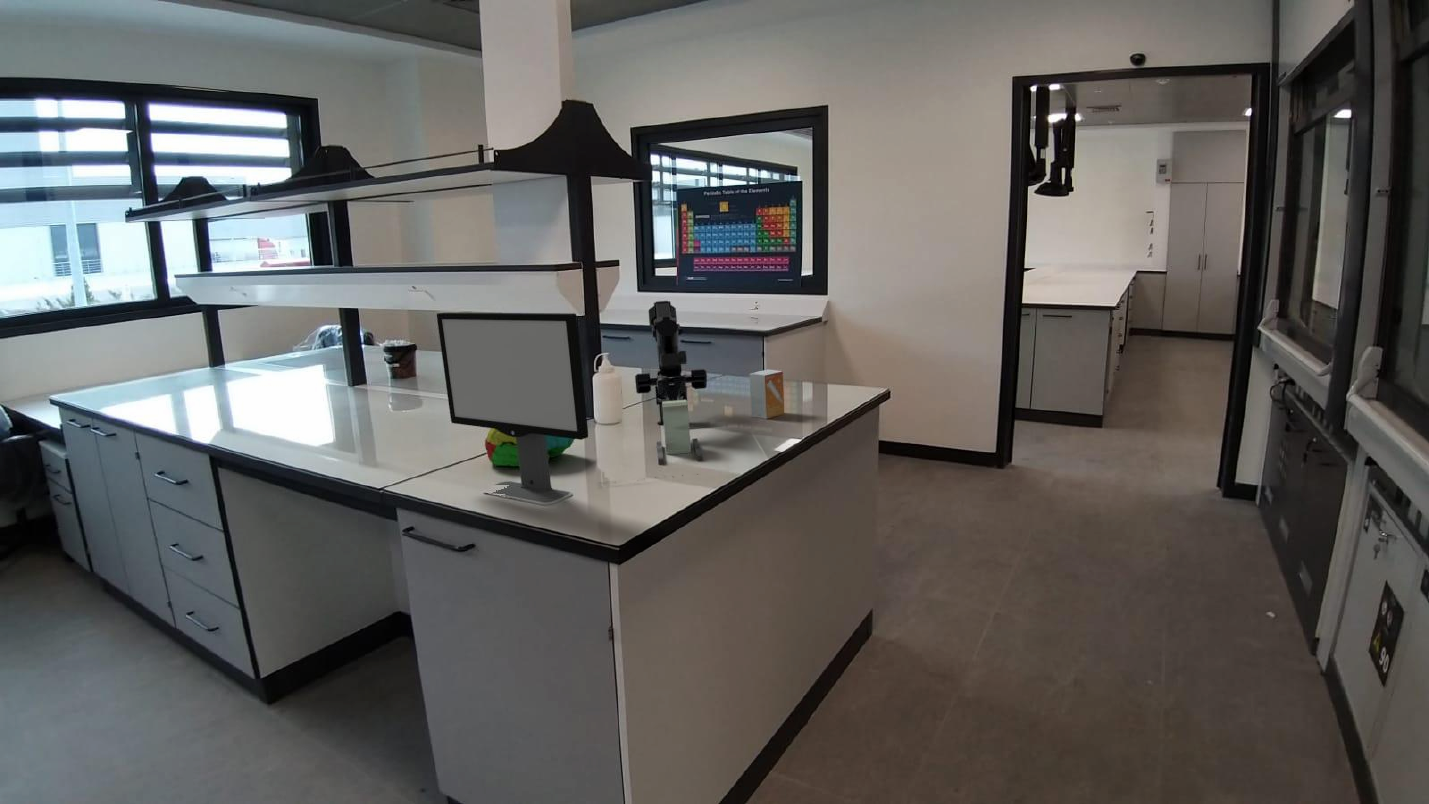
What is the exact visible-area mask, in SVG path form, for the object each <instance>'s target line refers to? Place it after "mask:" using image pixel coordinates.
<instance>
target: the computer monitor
mask: <svg viewBox="0 0 1429 804" xmlns="http://www.w3.org/2000/svg"><path fill="white" fill-rule="evenodd" d="M436 321H437V327H438V328H437V329H438V335H439V341H440V342H439V343H440V349H441V356H442V357H441V359H442V364H443V371H444V380H445V387H446V394H447V401H448V409H449V415H450V421H451V424H454V425H463V426H471V427H479V428H487V429H491V428H493V429H497V430H498V431H500V432H501V433H503V434H505V435H508V436H511V437H516V442H517V450H518V459H519V466H518V467H519V474H520V481H516V480H505V481H504V480H503V481H500V482H496V483H493V485H509V486H507V488H505V487H504V489H501V490H498V491H497V490H496V492H493V493H491V494H505V495H501V496H505V497H509V498H513V499H512V500H514V499H516V500H515V501H519V500H521V501H520V502H525V503H529V502H531V503H530V504H534V503H535V505H538V506H539V505H540V506H550V505H551V506H552V505H554V504H556V503H559V502H561V501H563V500H566V499H568V498H570V497H572V496H573V492H572V491H569V490H566V489H565V490H564V489H558V488H554V487H552V482H551V474H550V473H551V472H550V465H549V460H548V454H547V445H546V436H545V435H548V436H555V437H563V438H571V439H574V440H581V441H582V440H585V439H587V438H589V428H588V419H587V418H588V417H587V411H586V409H587V408H586V407H587V406H586V400H585V399H586V398H585V389H584V388H585V387H584V376H583V367H582V358H581V347H580V346H581V345H580V337H579V327H578V318H577V314H576V313H572V312H571V313H570V312H569V313H568V312H567V313H565V312H564V313H563V312H562V313H561V312H560V313H559V312H558V313H557V312H556V313H555V312H545V313H544V312H539V313H538V312H447V311H446V312H445V311H443V312H438V313H436ZM509 498H508V499H509Z"/></svg>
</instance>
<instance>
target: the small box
mask: <svg viewBox="0 0 1429 804" xmlns="http://www.w3.org/2000/svg"><path fill="white" fill-rule="evenodd" d="M749 391H750V392H749V393H750V412H751V414H750V416H751V417H753V418H758V419H766V420H768V419H771V418H775V417H778V416H782V415H785V395H784V393H785V392H784V391H785V390H784V371H783V370H777V369H764V370H759V371H756V372H752V373H749Z"/></svg>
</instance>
